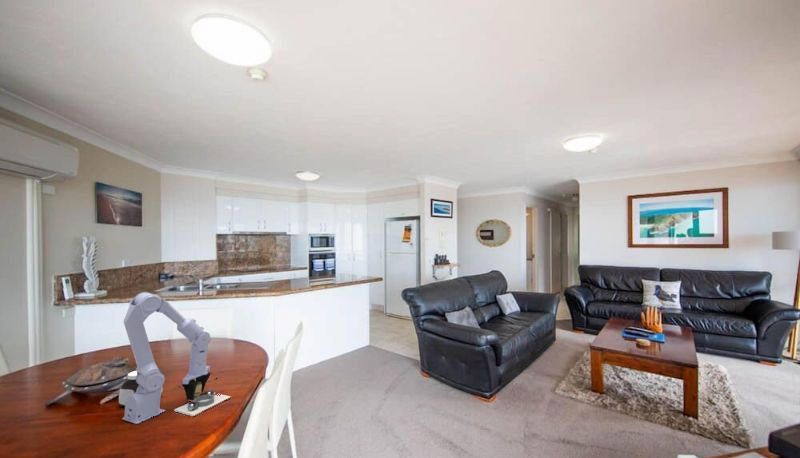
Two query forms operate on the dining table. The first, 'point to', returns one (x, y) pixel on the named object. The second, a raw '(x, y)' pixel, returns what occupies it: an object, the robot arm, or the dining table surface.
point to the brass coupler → (197, 390)
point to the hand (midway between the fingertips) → (195, 395)
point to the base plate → (192, 413)
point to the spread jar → (129, 388)
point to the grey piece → (209, 392)
